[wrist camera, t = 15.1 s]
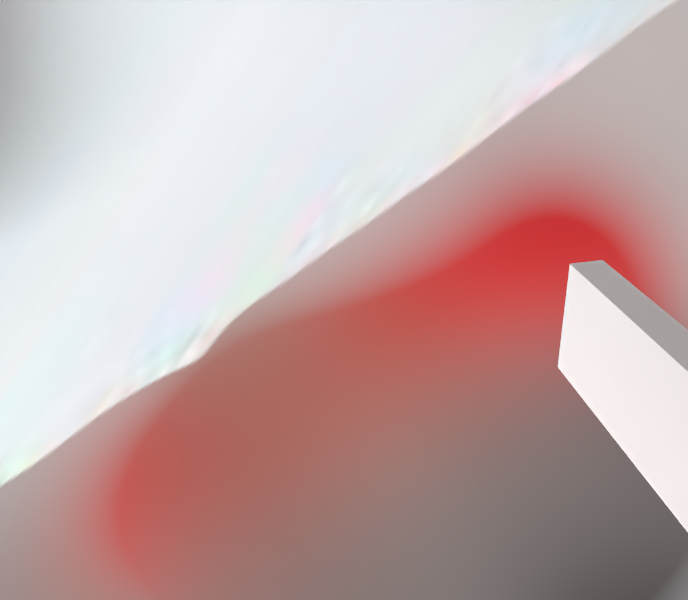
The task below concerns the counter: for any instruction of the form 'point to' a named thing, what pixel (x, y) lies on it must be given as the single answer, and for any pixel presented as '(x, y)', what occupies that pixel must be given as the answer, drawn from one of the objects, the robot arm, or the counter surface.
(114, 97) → the counter surface
